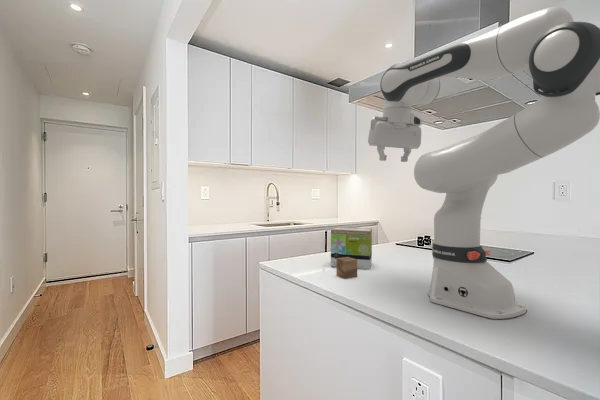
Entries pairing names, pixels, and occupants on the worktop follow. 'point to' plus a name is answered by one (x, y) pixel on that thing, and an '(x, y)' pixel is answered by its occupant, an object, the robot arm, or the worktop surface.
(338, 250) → the tea box
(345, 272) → the walnut block
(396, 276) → the worktop surface
